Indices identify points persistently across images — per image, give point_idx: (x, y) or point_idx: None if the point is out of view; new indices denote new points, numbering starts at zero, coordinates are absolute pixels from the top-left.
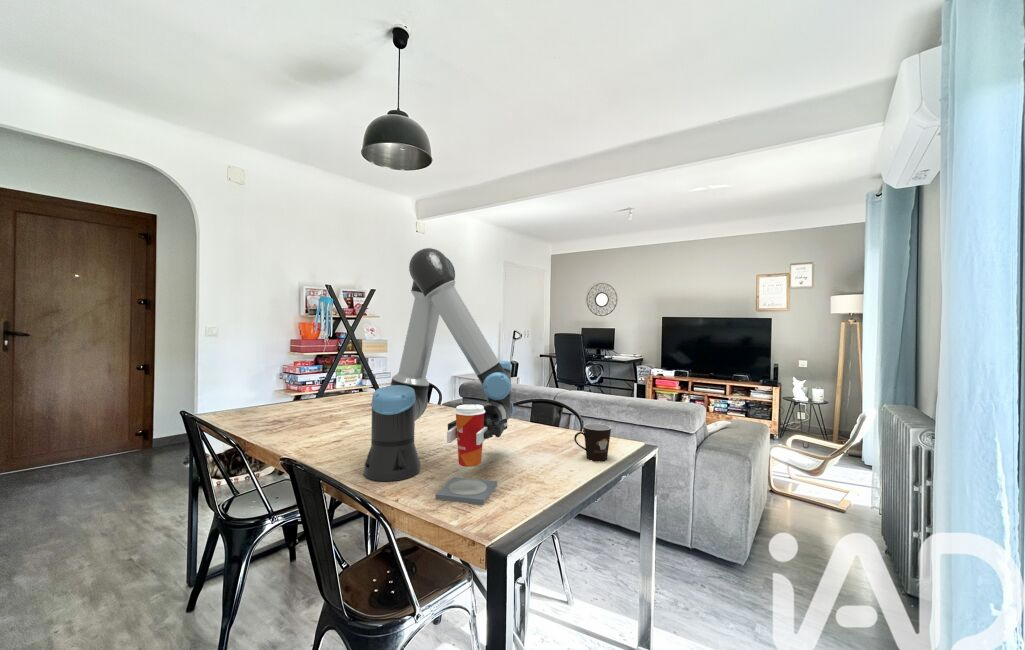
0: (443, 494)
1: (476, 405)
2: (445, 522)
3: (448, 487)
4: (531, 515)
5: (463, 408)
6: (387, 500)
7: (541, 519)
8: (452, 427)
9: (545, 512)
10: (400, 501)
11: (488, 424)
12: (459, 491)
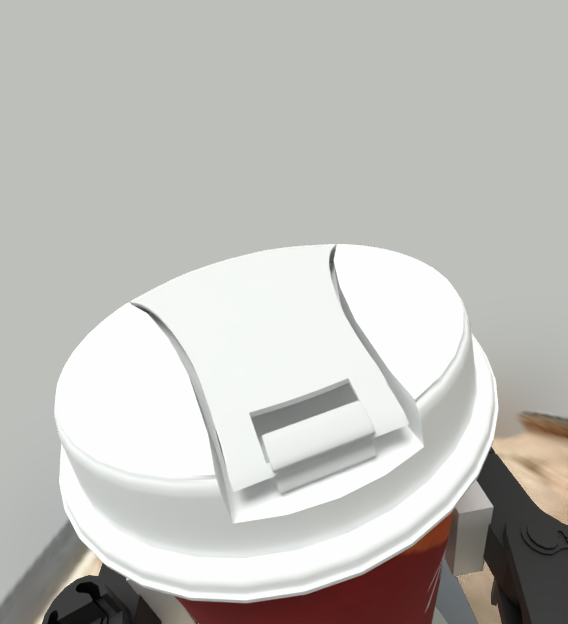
0: None
1: (179, 392)
2: None
3: (442, 618)
4: (84, 569)
5: (289, 256)
6: (554, 453)
7: (60, 556)
8: (536, 508)
9: (27, 617)
10: (512, 465)
11: (99, 581)
12: None
